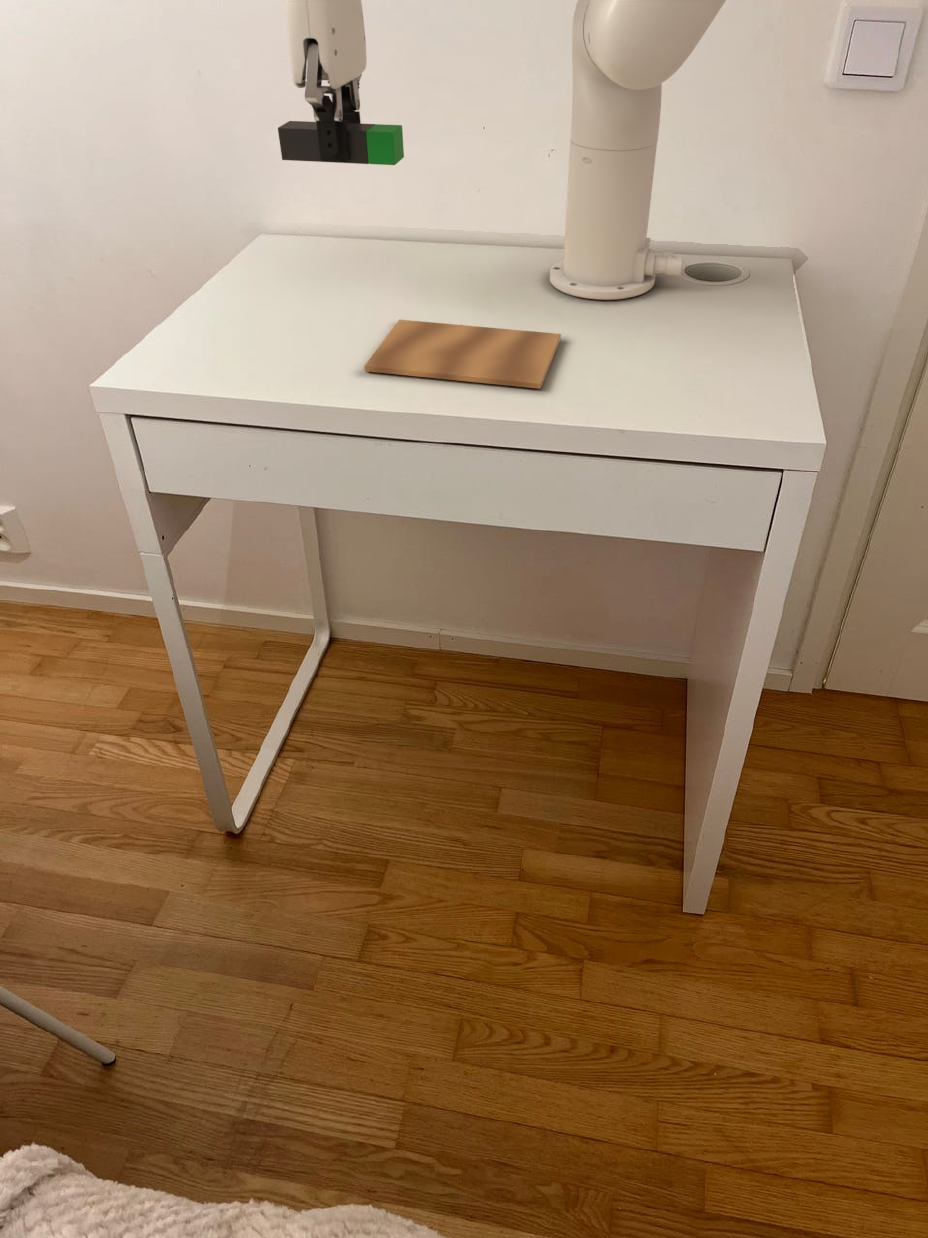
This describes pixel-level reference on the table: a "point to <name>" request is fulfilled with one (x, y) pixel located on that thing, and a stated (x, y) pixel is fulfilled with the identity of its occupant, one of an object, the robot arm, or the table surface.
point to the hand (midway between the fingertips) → (342, 154)
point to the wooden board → (466, 353)
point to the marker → (363, 139)
